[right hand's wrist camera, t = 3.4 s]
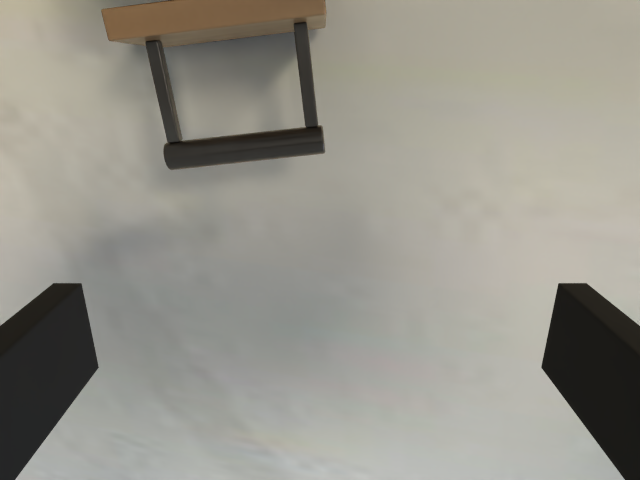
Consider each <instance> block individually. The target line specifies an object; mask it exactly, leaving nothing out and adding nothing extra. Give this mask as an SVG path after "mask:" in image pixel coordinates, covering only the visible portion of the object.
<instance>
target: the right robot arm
mask: <svg viewBox="0 0 640 480" xmlns="http://www.w3.org/2000/svg"><path fill="white" fill-rule="evenodd" d="M98 368H99V367H98V362H97V357H96V352H95V347H94V343H93V338H92V333H91V328H90V323H89V318H88V313H87V308H86V303H85V299H84V294H83V289H82V284H81V283H53V284H52V285H51V286H50V287H48V288H47V289H46V290H45V291H43V292H42V293H41V294H40V295H38V296H37V297H36V298H35V299H33V300H32V301H31V302H30V303H29V304H27V305H26V306H25V307H24V308H22V309H21V310H20V311H19V312H17V313H16V314H15V315H14V316H12V317H11V318H10V319H9V320H7V321H6V322H5V323H4V324H2V325H1V326H0V480H15V479H16V478H17V476H18V475H19V474H20V472H21V471H22V470H23V468H24V467H25V466H26V464H27V463H28V461H29V460H30V459H31V457H32V456H33V455H34V453H35V452H36V451H37V449H38V448H39V447H40V445H41V444H42V443H43V441H44V440H45V439H46V437H47V436H48V435H49V433H50V432H51V431H52V429H53V428H54V427H55V425H56V424H57V423H58V421H59V420H60V419H61V417H62V416H63V415H64V413H65V412H66V410H67V409H68V408H69V406H70V405H71V404H72V402H73V401H74V400H75V398H76V397H77V396H78V394H79V393H80V392H81V390H82V389H83V388H84V386H85V385H86V384H87V382H88V381H89V380H90V378H91V377H92V376H93V374H94V373H95V372H96V370H97V369H98ZM541 368H542V369H543V370H544V372H545V373H546V374H547V376H548V377H549V378H550V380H551V381H552V382H553V384H554V385H555V386H556V388H557V389H558V390H559V392H560V393H561V394H562V396H563V397H564V398H565V400H566V401H567V402H568V404H569V405H570V406H571V408H572V409H573V410H574V412H575V413H576V415H577V416H578V417H579V419H580V420H581V421H582V423H583V424H584V425H585V427H586V428H587V429H588V431H589V432H590V433H591V435H592V436H593V437H594V439H595V440H596V441H597V443H598V444H599V445H600V447H601V448H602V449H603V451H604V452H605V453H606V455H607V456H608V457H609V459H610V460H611V461H612V463H613V464H614V466H615V467H616V468H617V470H618V471H619V472H620V474H621V475H622V476H623V478H624V479H625V480H640V326H639V325H638V324H636V323H635V322H634V321H633V320H631V319H630V318H629V317H628V316H626V315H625V314H624V313H623V312H621V311H620V310H619V309H618V308H616V307H615V306H614V305H613V304H611V303H610V302H609V301H608V300H606V299H605V298H604V297H603V296H602V295H600V294H599V293H598V292H597V291H595V290H594V289H593V288H592V287H590V286H589V285H588V284H587V283H559V284H558V289H557V294H556V298H555V303H554V308H553V313H552V318H551V323H550V328H549V333H548V338H547V343H546V347H545V352H544V357H543V362H542V367H541Z"/></svg>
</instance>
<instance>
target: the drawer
mask: <svg viewBox="0 0 640 480" xmlns="http://www.w3.org/2000/svg"><path fill="white" fill-rule="evenodd" d="M101 12H102V16H103V20H104V24H105V28H106V32H107V36H108V39H109V41H113V42H121V43H128V44H136V45H144V46H146V48H147V53H148V57H149V62H150V66H151V70H152V75H153V79H154V84H155V88H156V93H157V97H158V102H159V106H160V110H161V115H162V119H163V124H164V128H165V133H166V137H167V143H166V144H165V145H164V159H165V162H166V165H167V167H168V168H169V169H170V170H177V169H186V168H195V167H204V166H213V165H222V164H232V163H241V162H250V161H259V160H268V159H278V158H287V157H296V156H305V155H314V154H324V153H325V145H324V135H323V127H322V126H321V125H320V126H318V119H317V110H316V101H315V91H314V82H313V73H312V64H311V54H310V45H309V36H308V30H311V29H319V28H325V25H326V5H325V0H170V1H162V2H154V3H146V4H138V5H130V6H122V7H115V8H107V9H102V10H101ZM286 32H294V34H295V43H296V51H297V59H298V68H299V76H300V85H301V93H302V102H303V110H304V119H305V126H306V127H302V128H293V129H284V130H275V131H266V132H257V133H248V134H239V135H230V136H221V137H212V138H203V139H194V140H185V141H181V140H182V135H181V130H180V125H179V121H178V116H177V111H176V106H175V102H174V97H173V92H172V88H171V83H170V78H169V74H168V69H167V64H166V60H165V55H164V50H163V47H171V46H179V45H187V44H196V43H204V42H212V41H220V40H229V39H237V38H245V37H253V36H262V35H270V34H278V33H286Z"/></svg>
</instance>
